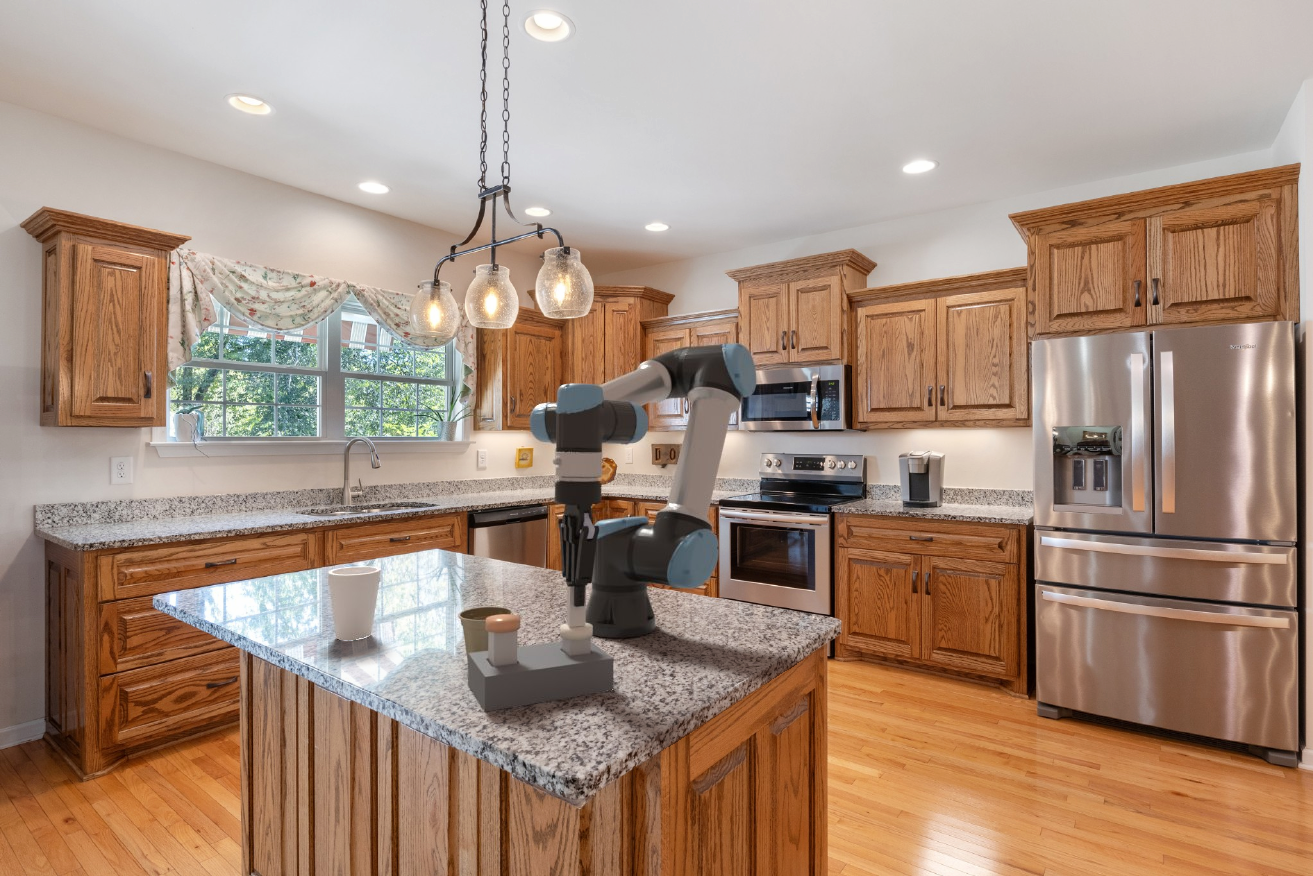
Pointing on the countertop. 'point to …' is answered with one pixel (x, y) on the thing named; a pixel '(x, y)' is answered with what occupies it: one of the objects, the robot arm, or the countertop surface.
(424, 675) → the countertop surface
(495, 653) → the terracotta plunger
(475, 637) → the flower pot
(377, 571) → the foam cup
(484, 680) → the block
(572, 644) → the cream plunger
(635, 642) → the countertop surface
